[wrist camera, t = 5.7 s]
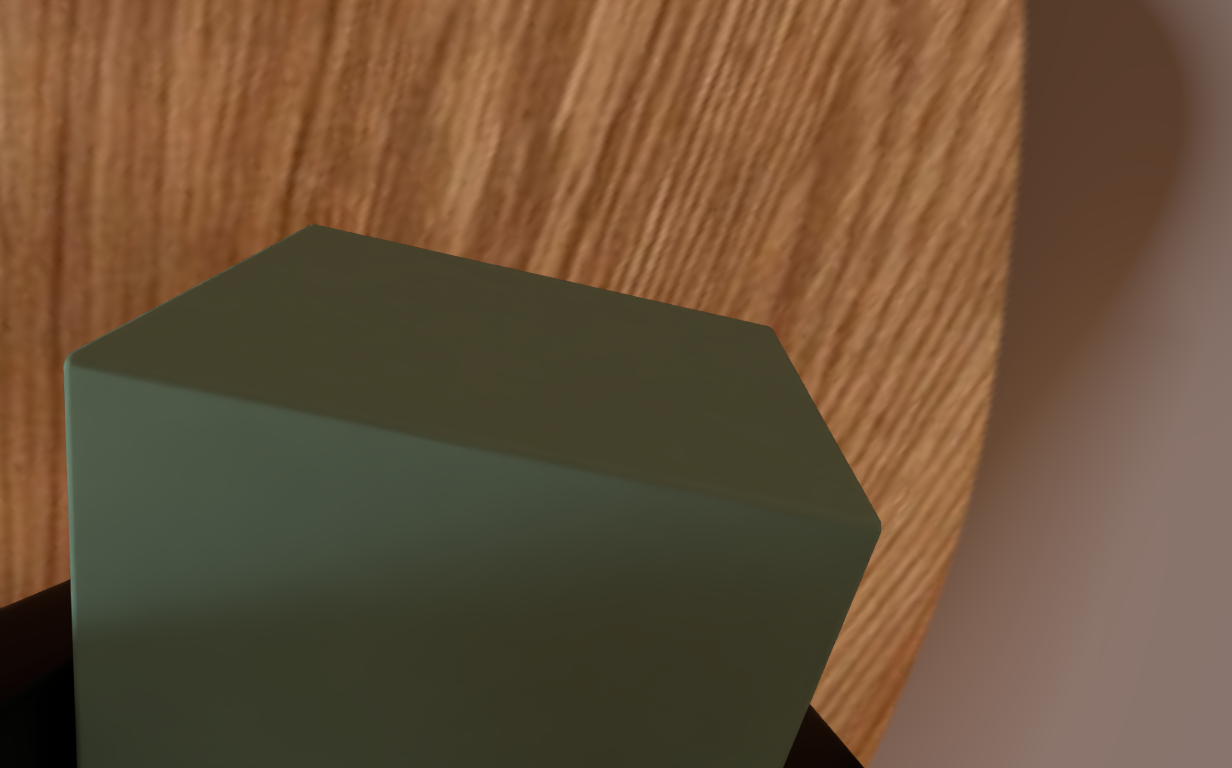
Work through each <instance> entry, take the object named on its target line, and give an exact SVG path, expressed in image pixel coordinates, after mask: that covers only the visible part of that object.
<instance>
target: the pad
mask: <svg viewBox="0 0 1232 768" xmlns="http://www.w3.org/2000/svg"><path fill="white" fill-rule="evenodd" d="M64 395H65V425H66V455H67V485H68V515H69V545H70V575H71V605H72V635H73V665H74V695H75V725H76V755H77V768H783V767H784V764H785V762H786V759H787V757H788V755H789V752H790V750H791V747H792V745H793V743H794V740H795V738H796V735H797V733H798V730H799V728H800V726H801V723H802V721H803V718H804V716H805V714H806V711H807V709H808V706H809V704H810V702H811V699H812V697H813V694H814V692H815V690H816V687H817V685H818V682H819V680H820V678H821V675H822V673H823V670H824V668H825V666H826V663H827V661H828V658H829V656H830V654H831V651H832V649H833V646H834V644H835V642H836V639H837V637H838V634H839V632H840V630H841V627H842V625H843V622H844V620H845V617H846V615H847V613H848V610H849V608H850V605H851V603H852V601H853V598H854V596H855V593H856V591H857V589H858V586H859V584H860V581H861V579H862V577H863V574H864V572H865V569H866V567H867V565H868V562H869V560H870V557H871V555H872V553H873V550H874V548H875V545H876V543H877V541H878V538H879V536H880V533H881V521H880V519H879V517H878V516H877V514H876V512H875V510H874V509H873V507H872V505H871V503H870V501H869V500H868V498H867V496H866V494H865V493H864V491H863V489H862V487H861V485H860V484H859V482H858V480H857V478H856V477H855V475H854V473H853V471H852V469H851V468H850V466H849V464H848V462H847V460H846V459H845V457H844V455H843V453H842V452H841V450H840V448H839V446H838V444H837V443H836V441H835V439H834V437H833V436H832V434H831V432H830V430H829V428H828V427H827V425H826V423H825V421H824V420H823V418H822V416H821V414H820V412H819V411H818V409H817V407H816V405H815V404H814V402H813V400H812V398H811V396H810V395H809V393H808V391H807V389H806V388H805V386H804V384H803V382H802V380H801V379H800V377H799V375H798V373H797V371H796V370H795V368H794V366H793V364H792V363H791V361H790V359H789V357H788V355H787V354H786V352H785V350H784V348H783V347H782V345H781V343H780V341H779V339H778V338H777V336H776V334H775V332H774V331H773V329H772V328H770V327H769V326H765V325H760V324H756V323H751V322H747V321H742V320H738V319H733V318H729V317H725V316H720V315H716V314H711V313H707V312H702V311H698V310H693V309H689V308H685V307H680V306H676V305H671V304H667V303H662V302H658V301H653V300H649V299H645V298H640V297H636V296H631V295H627V294H622V293H618V292H613V291H609V290H605V289H600V288H596V287H591V286H587V285H582V284H578V283H573V282H569V281H565V280H560V279H556V278H551V277H547V276H542V275H538V274H533V273H529V272H525V271H520V270H516V269H511V268H507V267H502V266H498V265H493V264H489V263H485V262H480V261H476V260H471V259H467V258H462V257H458V256H453V255H449V254H445V253H440V252H436V251H431V250H427V249H422V248H418V247H413V246H409V245H404V244H400V243H396V242H391V241H387V240H382V239H378V238H373V237H369V236H364V235H360V234H356V233H351V232H347V231H342V230H338V229H333V228H329V227H324V226H320V225H316V224H314V225H309V226H307V227H305V228H303V229H301V230H300V231H298V232H296V233H294V234H292V235H290V236H288V237H286V238H285V239H283V240H281V241H279V242H277V243H275V244H273V245H271V246H270V247H268V248H266V249H264V250H262V251H260V252H258V253H257V254H255V255H253V256H251V257H249V258H247V259H245V260H243V261H242V262H240V263H238V264H236V265H234V266H232V267H230V268H228V269H227V270H225V271H223V272H221V273H219V274H217V275H215V276H213V277H212V278H210V279H208V280H206V281H204V282H202V283H200V284H198V285H197V286H195V287H193V288H191V289H189V290H187V291H185V292H183V293H182V294H180V295H178V296H176V297H174V298H172V299H170V300H169V301H167V302H165V303H163V304H161V305H159V306H157V307H155V308H154V309H152V310H150V311H148V312H146V313H144V314H142V315H140V316H139V317H137V318H135V319H133V320H131V321H129V322H127V323H125V324H124V325H122V326H120V327H118V328H116V329H114V330H112V331H110V332H109V333H107V334H105V335H103V336H101V337H99V338H97V339H95V340H94V341H92V342H90V343H88V344H86V345H84V346H82V347H81V348H79V349H77V350H75V351H73V352H71V353H69V355H68V356H67V358H66V360H65V363H64Z"/></svg>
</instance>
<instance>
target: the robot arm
mask: <svg viewBox="0 0 1232 768" xmlns="http://www.w3.org/2000/svg"><path fill="white" fill-rule="evenodd" d="M0 768H77V755H76V725H75V695H74V665H73V635H72V605H71V579H70V580H67V581H65V582H63V583H60V584H58V585H55V586H53V587H51V588H48V589H46V590H43V591H41V592H39V593H36V594H34V595H31V596H29V597H27V598H24V599H22V600H19V601H17V602H15V603H12V604H10V605H8V606H5V607H3V608H0ZM783 768H864V767H863V766H862V765H861V763H860V762H859V761H858V760H857V759H856V758H855V756H854V755H853V754H852V753H851V752H850V751H849V749H848V748H847V747H846V746H845V745H844V743H843V742H842V741H841V740H840V739H839V738H838V736H837V735H836V734H835V733H834V732H833V730H832V729H831V728H830V727H829V726H828V725H827V723H826V722H825V721H824V720H823V719H822V718H821V716H820V715H819V714H818V713H817V712H816V710H815V709H814V708H813V707H812V706H811V705H810V704H809V706H808V709H807V711H806V714H805V716H804V718H803V721H802V723H801V726H800V728H799V730H798V733H797V735H796V738H795V740H794V743H793V745H792V747H791V750H790V752H789V755H788V757H787V759H786V762H785V764H784V767H783Z"/></svg>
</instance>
